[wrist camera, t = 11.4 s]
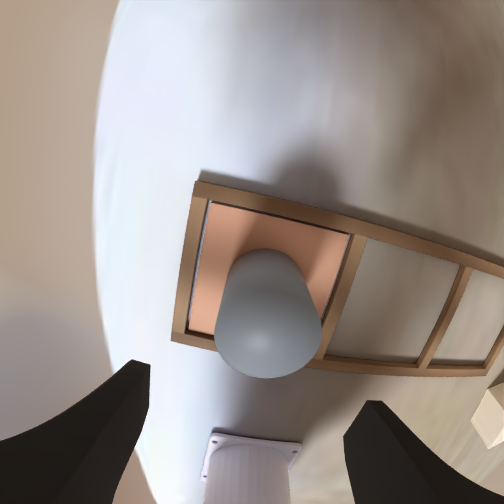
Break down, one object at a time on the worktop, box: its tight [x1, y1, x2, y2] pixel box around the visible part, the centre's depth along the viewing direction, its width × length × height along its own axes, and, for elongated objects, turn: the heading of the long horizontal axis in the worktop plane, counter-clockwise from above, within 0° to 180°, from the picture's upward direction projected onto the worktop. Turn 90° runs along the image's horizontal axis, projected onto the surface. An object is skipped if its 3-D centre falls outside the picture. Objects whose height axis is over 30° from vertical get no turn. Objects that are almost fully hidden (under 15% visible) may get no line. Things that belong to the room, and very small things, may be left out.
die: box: [470, 382, 504, 449], centre depth 19 cm, size 5×5×5 cm
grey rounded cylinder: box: [214, 248, 322, 378], centre depth 14 cm, size 4×4×6 cm
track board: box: [171, 181, 504, 377], centre depth 18 cm, size 10×28×1 cm, turn 77°
